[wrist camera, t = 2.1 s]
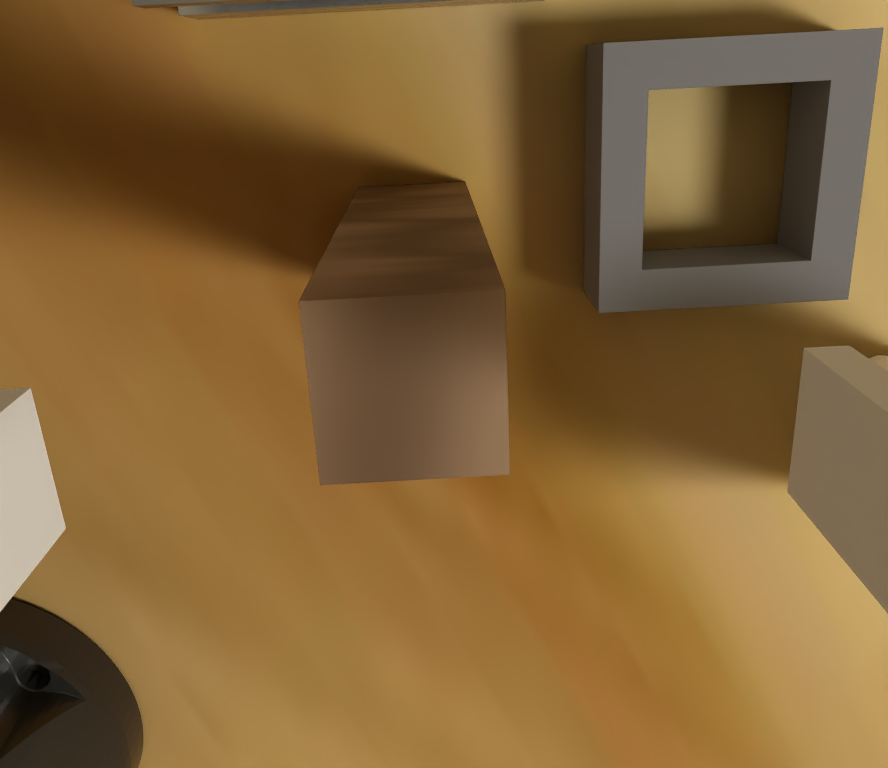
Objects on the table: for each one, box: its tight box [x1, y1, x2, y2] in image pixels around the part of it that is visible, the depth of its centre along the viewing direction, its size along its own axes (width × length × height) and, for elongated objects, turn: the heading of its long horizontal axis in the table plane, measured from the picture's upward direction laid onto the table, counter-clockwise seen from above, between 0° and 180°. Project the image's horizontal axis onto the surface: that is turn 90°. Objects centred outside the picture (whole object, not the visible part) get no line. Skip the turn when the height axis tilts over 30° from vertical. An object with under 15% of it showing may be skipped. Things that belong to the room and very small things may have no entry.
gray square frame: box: [584, 28, 883, 313], centre depth 30 cm, size 9×9×3 cm
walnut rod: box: [299, 181, 510, 485], centre depth 24 cm, size 4×4×16 cm
